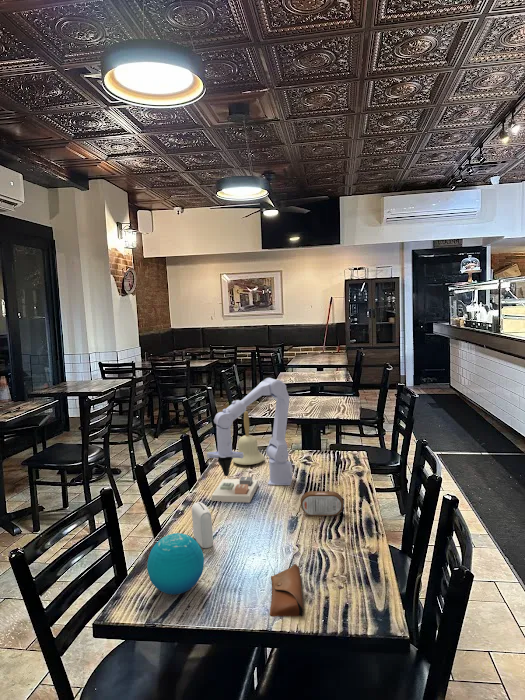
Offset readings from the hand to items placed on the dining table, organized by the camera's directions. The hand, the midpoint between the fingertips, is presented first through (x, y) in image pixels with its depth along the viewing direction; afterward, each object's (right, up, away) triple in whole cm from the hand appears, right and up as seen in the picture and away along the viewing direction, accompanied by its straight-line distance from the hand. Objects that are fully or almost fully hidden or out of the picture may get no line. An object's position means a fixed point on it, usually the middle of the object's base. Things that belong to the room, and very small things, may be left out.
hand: (226, 475), depth 192 cm
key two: (+6, -6, -5) cm, 10 cm away
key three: (0, -7, +1) cm, 7 cm away
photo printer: (-5, -12, -38) cm, 40 cm away
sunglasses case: (+21, -14, -68) cm, 72 cm away
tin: (+36, -8, -23) cm, 43 cm away
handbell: (+8, -4, +37) cm, 38 cm away
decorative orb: (-8, -14, -63) cm, 66 cm away
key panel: (+4, -7, 0) cm, 8 cm away
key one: (+8, -5, +3) cm, 10 cm away
